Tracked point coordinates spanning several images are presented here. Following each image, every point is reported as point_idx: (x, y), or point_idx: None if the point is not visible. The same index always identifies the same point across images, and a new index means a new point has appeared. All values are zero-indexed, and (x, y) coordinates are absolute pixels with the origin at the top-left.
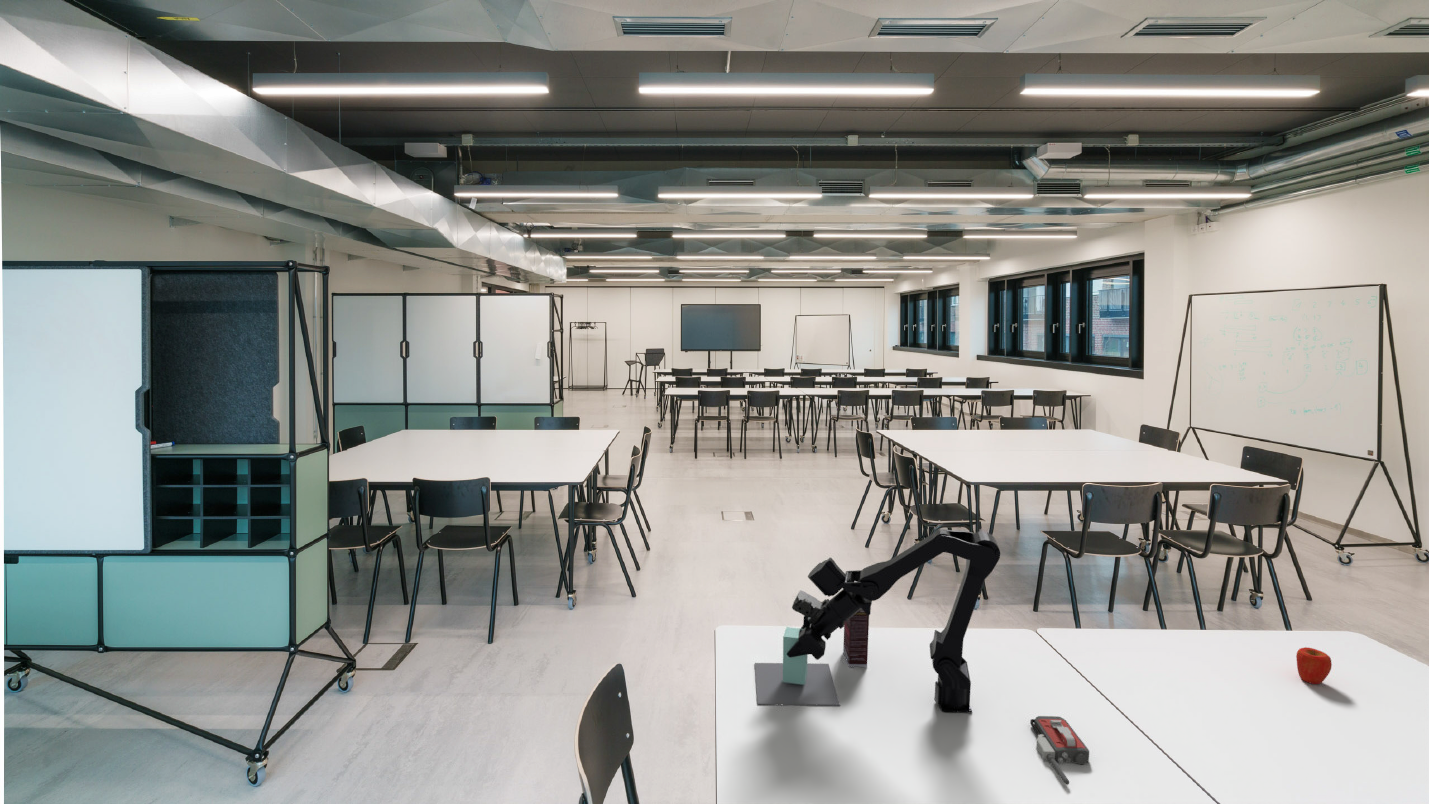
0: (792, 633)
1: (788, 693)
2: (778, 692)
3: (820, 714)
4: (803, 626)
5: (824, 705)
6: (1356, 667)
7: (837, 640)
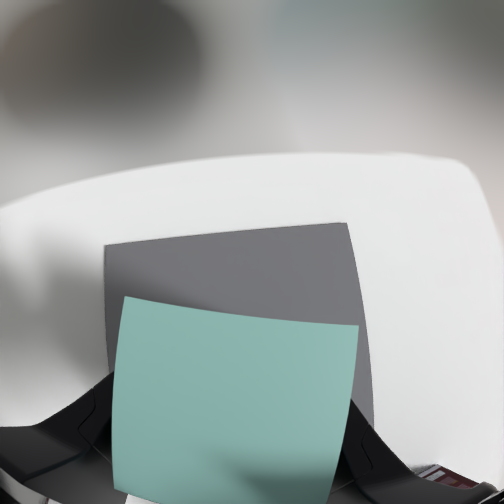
0: (205, 398)
1: None
2: None
3: None
4: (357, 488)
5: None
6: None
7: (478, 432)
